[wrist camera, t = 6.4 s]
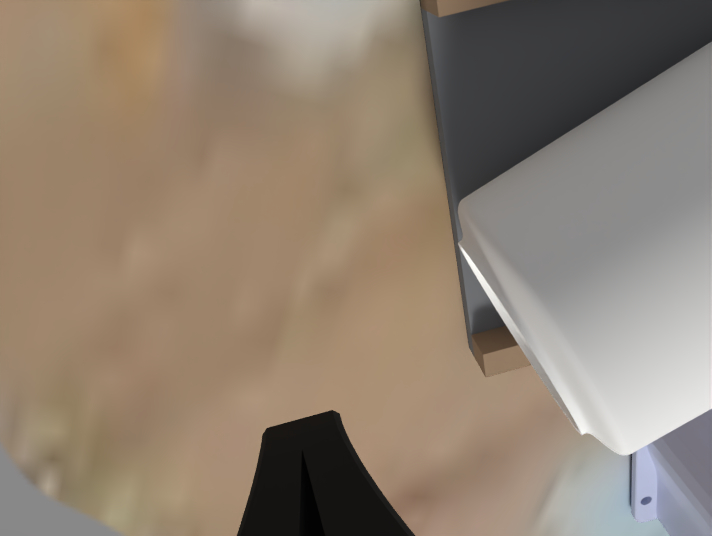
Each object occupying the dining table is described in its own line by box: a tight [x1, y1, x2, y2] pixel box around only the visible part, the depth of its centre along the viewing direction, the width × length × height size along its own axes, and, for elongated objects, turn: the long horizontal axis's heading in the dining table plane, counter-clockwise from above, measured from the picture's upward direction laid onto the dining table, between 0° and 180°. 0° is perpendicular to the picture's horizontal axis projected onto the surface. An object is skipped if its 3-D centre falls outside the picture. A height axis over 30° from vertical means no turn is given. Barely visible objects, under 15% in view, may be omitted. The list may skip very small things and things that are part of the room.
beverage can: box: [458, 42, 712, 455], centre depth 18 cm, size 8×8×12 cm
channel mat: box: [420, 0, 712, 377], centre depth 21 cm, size 13×12×2 cm
